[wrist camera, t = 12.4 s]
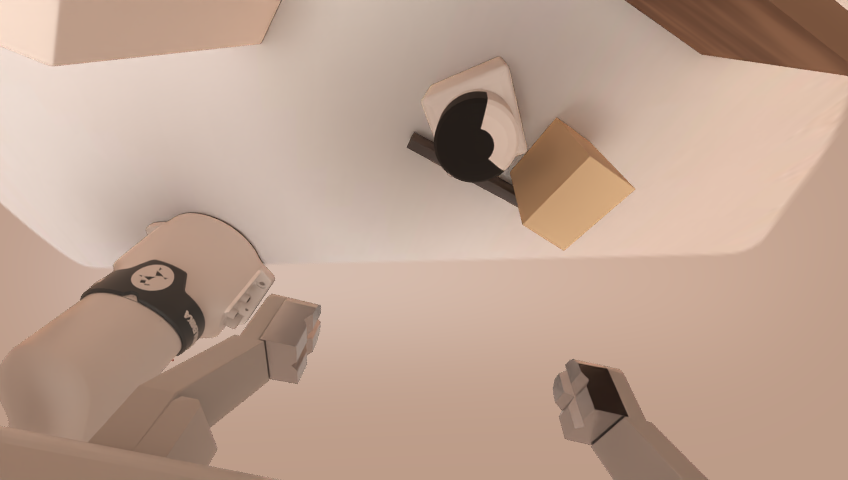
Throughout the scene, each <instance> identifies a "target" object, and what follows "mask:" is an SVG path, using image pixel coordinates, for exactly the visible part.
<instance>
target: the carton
mask: <svg viewBox="0 0 848 480" xmlns="http://www.w3.org/2000/svg"><path fill="white" fill-rule="evenodd" d="M510 175H511V179H512V183H513V187H514V192H515V196H516V200H517V204H518V208H519V212H520V216H521V220H522V225H524V226H525V227H527V228H529V229H530V230H532V231H533V232H535V233H536V234H538V235H540V236H541V237H543V238H544V239H546V240H548V241H549V242H551V243H552V244H554V245H555V246H557V247H559V248H560V249H562V250H563V251H564V250H565V249H567V248H568V247H569V246H570V245H571V244H572V243H573V242H575V241H576V240H577V239H578V238H579V237H580V236H582V235H583V234H584V233H585V232H586V231H587V230H589V229H590V228H591V227H592V226H593V225H594V224H596V223H597V222H598V221H599V220H600V219H601V218H603V217H604V216H605V215H606V214H607V213H608V212H610V211H611V210H612V209H613V208H614V207H615V206H616V205H618V204H619V203H620V202H621V201H622V200H623V199H625V198H626V197H627V196H628V195H629V194H630V193H632V192H633V191H634V190H635V188H634V187H633V186H632V185H631V184H630V183H629V182H628V181H627V180H626V179H625V178H624V177H623V176H622V175H621V174H620V173H619V172H618V171H617V169H616V168H615V167H614V166H613V165H612V164H611V163H610V162H609V161H608V160H607V159H606V158H605V157H604V156H603V155H602V154H601V153H600V152H599V151H598V150H597V149H596V148H595V147H594V146H593V145H592V144H591V143H590V142H589V141H588V140H587V139H585V138H584V137H582V136H581V135H580V134H578V133H577V132H576V131H574V130H573V129H572V128H570V127H569V126H568V125H566V124H565V123H564V122H562V121H561V120H560V119H558V118H557V117H556V119H555V120H554V121H553V122H552V123H551V124H550V126H549V127H548V128H547V129H546V130H545V132H544V133H543V134H542V135H541V136H540V137H539V139H538V140H537V141H536V142H535V143H534V145H533V146H532V147H531V148H530V149H529V151H528V152H527V153H526V154H525V155H524V156H523V158H522V159H521V160H520V161H519V162H518V164H517V165H516V166H515V167H514V168H513V169H512V171H511V172H510Z"/></svg>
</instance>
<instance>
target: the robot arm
mask: <svg viewBox="0 0 848 480" xmlns="http://www.w3.org/2000/svg"><path fill="white" fill-rule="evenodd" d="M146 233H147V236H146V237H145V238H144V239H142V240H141V241H140V242H139V243H137V244H136V245H135V246H134V247H132V248H131V249H130V250H129V251H128V252H126V253H125V254H124V255H123V256H121V257H120V258H119V259H118V260H117V261H116V262H115V263H114V264H113V267H114V271H113V272H112V273H110V274H109V275H107V276H106V277H104V278H102V279H100V280H99V281H97V282H96V283H94V284H93V285H92V286H91V288H89V289H88V290H87V291H86V292H84V293H83V294H82V296H81V299H80V301H79V302H77V303H76V304H74V305H73V306H72V307H70V308H69V309H67V310H66V311H65V312H63V313H62V314H60V315H59V316H58V317H56V318H55V319H54V320H52V321H51V322H49V323H48V324H47V325H45V326H44V327H42V328H41V329H39V330H38V331H37V332H35V333H34V334H33V335H31V336H30V337H28V338H27V339H25V340H24V341H23V342H21V343H20V344H18V345H17V346H15V347H14V348H13V349H12V350H11V351H10V352H9V353H8V355H7V356H6V357H5V358H4V360H3V361H2V363H1V365H0V402H1V404H2V406H3V408H4V410H5V412H6V415H7V417H8V421H9V427H5V426H0V480H279V479H274V478H269V477H263V476H258V475H253V474H248V473H243V472H238V471H233V470H227V469H222V468H217V467H212V466H209V464H210V462H211V460H212V458H213V457H214V455H215V453H216V451H217V446H216V443H215V440H214V438H213V435H212V433H211V430H210V427H212V426H213V425H214V424H215V423H217V422H218V421H219V420H220V419H222V418H223V417H224V416H225V415H226V414H228V413H229V412H230V411H232V410H233V409H234V408H235V407H237V406H238V405H239V404H240V403H241V402H243V401H244V400H246V399H247V398H248V397H249V396H251V395H252V394H253V393H254V392H255V391H257V390H258V389H259V388H261V387H262V386H263V385H264V384H265V383H267V382H268V381H269V379H272V380H278V381H285V382H289V383H295V384H298V382H299V380H300V378H301V376H302V374H303V372H304V369H305V367H306V365H307V355H308V354H310V353H311V352H313V349H314V347H315V345H316V342H317V339H318V336H319V332H320V321H319V320H318V318H319V316H320V313H321V306H320V305H318V304H313V303H309V302H305V301H301V300H297V299H293V298H289V297H284V296H280V295H275V294H271V295H270V296H269V297H267V298H266V300H265V301H264V303H263V304H262V305H261V307H260V308H259V309H258V311H257V312H256V314H255V315H254V316H253V318H252V319H251V321H250V322H249V323H248V325H247V326H246V327H245V329H244V330H243V332H242V333H241V335H240V336H239V335H233V336H231V337H230V338H227V339H226V340H224V341H222V342H220V343H218V344H216V345H214V346H213V347H211V348H209V349H207V350H205V351H203V352H201V353H199V354H197V355H196V356H194V357H192V358H190V359H188V360H186V361H185V362H182V363H180V364H179V365H177V366H175V367H173V368H171V369H169V370H167V371H165V372H164V373H162V374H161V372H162V371H163V370H164V369H165V368H166V366H167V365H168V364H169V363H170V362H171V361H174V359H173V358H174V357H175V356H178V355H180V354H182V353H183V352H184V351H185V350H187V349H189V348H190V347H191V346H192V345H193V344H194V343H195V342H196V341H197V340H198V339H199V338H212V337H216V336H217V335H219V333H220V332H221V331H222V330H223V329H224V328H225V326H228V327H230V328H232V329H235V328H236V327H237V326H238V325H242V324H245V323H246V322H247V320H248V319H249V318H250V316H251V315H252V313H253V312H254V310H255V309H256V308H257V306H258V305H259V303H260V301H261V300H262V298H263V297H264V296H265V294H266V293H267V291H268V290H269V288H270V287H271V285H272V284H273V282H274V281H275V277H274V275H273V274H272V273H271V272H270V271H269V270H268V269H267V267H265V266H264V265H263V263H262V262H261V260H260V259H259V257H258V255H257V253H256V251H255V250H254V248H253V247H252V246H251V244H250V243H249V242H248V241H247V240H246V239H245V238H244V237H243V236H242V235H241V234H240V233H239V232H237V231H236V230H235V229H233V228H232V227H230V226H229V225H227V224H225V223H224V222H222V221H220V220H218V219H215V218H213V217H210V216H206V215H202V214H196V213H186V214H181V215H178V216H176V217H174V218H172V219H171V220H169V221H167V222H156V223H152V224H151V225H149V226H148V227H147V228H146ZM566 369H567V370H566V371H563V372H561V373H559V374H558V375H557V377H556V378H555V381H554V386H553V394H554V399H555V403H556V404H557V405H558V406H559V407H560V409H561V410H562V412H561V414H560V416H559V419H560V422H561V426H562V430H563V434H564V438H565V439H567V440H571V441H576V442H580V443H584V444H588V445H592V446H591V448H592V449H593V451H594V452H595V453H596V455H597V456H598V458H599V459H600V461H601V462H602V464H603V465H604V467H605V468H606V469H607V471H608V472H609V474H610V475H611V477H612V478H613V480H708V479H707V478H706V477H705V476H704V475H703V474H702V473H701V472H700V471H699V470H698V469H697V468H696V467H695V466H694V465H693V464H692V463H691V462H690V461H689V460H688V459H687V458H686V457H685V456H684V455H683V454H682V453H681V452H680V451H679V450H678V449H677V448H676V447H675V446H674V445H673V444H672V443H671V442H670V441H669V440H668V439H667V438H666V437H665V436H664V435H663V434H662V433H661V432H660V431H659V430H658V428H656V426H655V425H654V424H652V423H651V422H648V421H646V419H645V417H644V415H643V413H642V411H641V408H640V407H639V404H638V402H637V400H636V398H635V396H634V394H633V392H632V390H631V388H630V386H629V383H628V381H627V379H626V377H625V375H624V373H623V372H622V371H621V370H620V369H617V368H612V367H608V366H602V365H600V364H594V363H589V362H585V361H580V360H575V359H572V360H570V361H569V362H568V363H567V364H566Z"/></svg>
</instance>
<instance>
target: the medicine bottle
mask: <svg viewBox="0 0 848 480" xmlns="http://www.w3.org/2000/svg"><path fill="white" fill-rule="evenodd" d="M421 104H422V107H423V110H424V112H425V115H426V118H427V120H428V123H429V126H430V128H431V131H432V134H433V136H434V150H435V154H436V157H437V159H438V162H439V163H440V165H441V166H442V167H443V169H444V170H445V171H446V172H447V173H448V175H449V176H450V177H454V178H456V179H459V180H461V181H465V182H473V183H475V182H484V181H487V180H490V179H493V178H495V177H497V176H498V175H500V174H501V173H502V172H504V171H505V170H506V169H507V168H508V167H509V166H510V164H511V163H512V162H513V160H514V158H515V156H518V155H521V154H524V153H526V151H527V144H526V140H525V135H524V131H523V127H522V122H521V118H520V113H519V109H518V104H517V100H516V96H515V91H514V87H513V82H512V78H511V74H510V69H509V67H508V65H507V64H506V63H505V61H504V60H503V59H502V57H496V58H493V59H491V60H489V61H486V62H484V63H482V64H479V65H477V66H475V67H472V68H470V69H468V70H465V71H463V72H460V73H458V74H456V75H453V76H451V77H449V78H446V79H444V80H442V81H439V82H437V83H435V84H432V85H431V86H430V87H429V89H428V91H427V92H426V94H425V95H424V97H423V98H422V100H421Z"/></svg>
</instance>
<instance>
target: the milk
mask: <svg viewBox="0 0 848 480" xmlns="http://www.w3.org/2000/svg"><path fill="white" fill-rule="evenodd" d="M280 2H281V0H0V46H2V47H4V48H7V49H9V50H11V51H14V52H16V53H19V54H21V55H24V56H26V57H29V58H31V59H34V60H36V61H39V62H41V63H44V64H46V65H49V66H61V65H70V64H80V63H89V62H98V61H107V60H117V59H126V58H135V57H144V56H153V55H163V54H172V53H181V52H190V51H199V50H209V49H218V48H227V47H236V46H245V45H255V44H261V42H262V40H263V38H264V36H265V34H266V32H267V29H268V27H269V25H270V23H271V21H272V19H273V17H274V15H275V12H276V10H277V8H278V6H279V4H280Z"/></svg>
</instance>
